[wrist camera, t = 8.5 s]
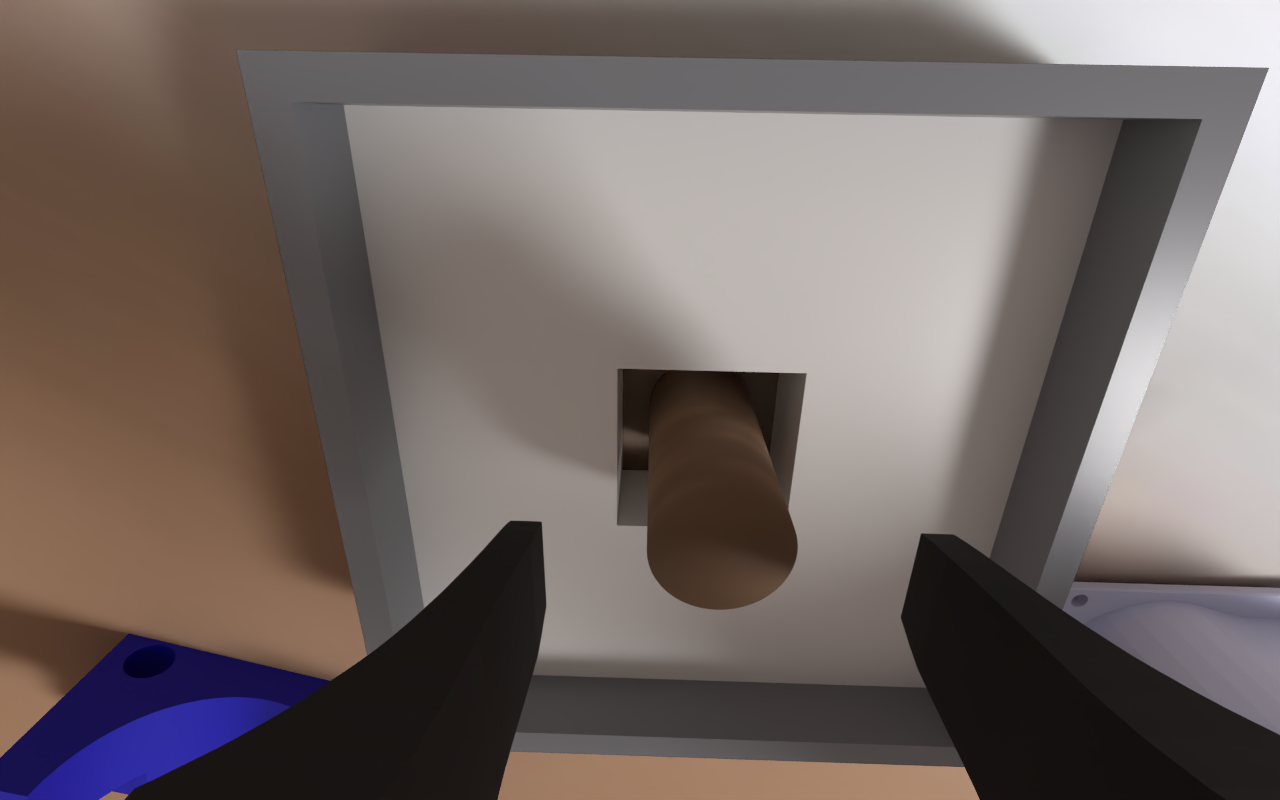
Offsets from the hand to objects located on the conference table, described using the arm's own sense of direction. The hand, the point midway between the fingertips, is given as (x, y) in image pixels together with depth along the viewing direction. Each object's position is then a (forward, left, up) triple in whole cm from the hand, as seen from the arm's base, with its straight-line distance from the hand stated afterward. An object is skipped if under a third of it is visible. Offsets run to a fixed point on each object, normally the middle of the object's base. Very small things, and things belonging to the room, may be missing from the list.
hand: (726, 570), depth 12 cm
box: (0, 0, -8) cm, 8 cm away
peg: (0, 0, -8) cm, 8 cm away
